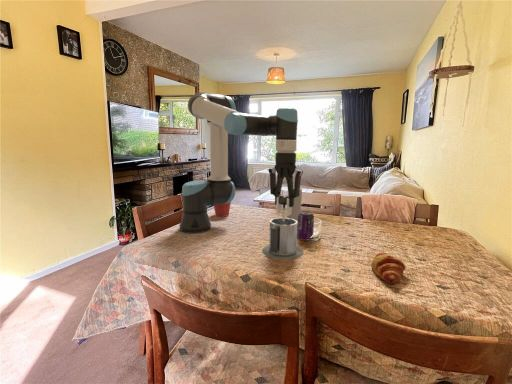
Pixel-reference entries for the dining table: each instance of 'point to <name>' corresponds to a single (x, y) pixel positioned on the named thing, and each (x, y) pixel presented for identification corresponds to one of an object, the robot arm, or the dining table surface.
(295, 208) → the white tall block
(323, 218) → the dining table surface
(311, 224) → the beverage can
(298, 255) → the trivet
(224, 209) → the flower pot
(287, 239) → the faceted metal cup
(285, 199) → the plunger
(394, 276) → the croissant
